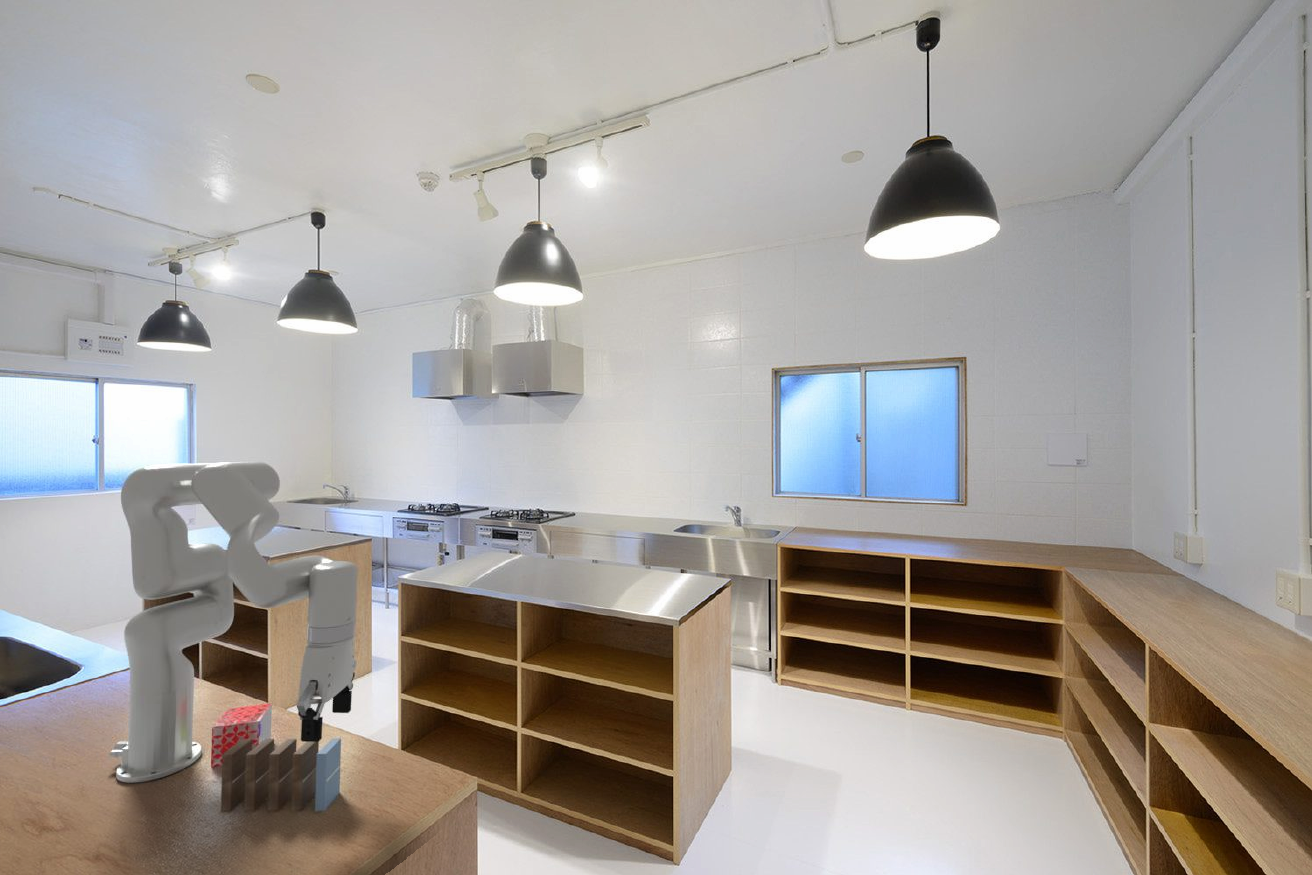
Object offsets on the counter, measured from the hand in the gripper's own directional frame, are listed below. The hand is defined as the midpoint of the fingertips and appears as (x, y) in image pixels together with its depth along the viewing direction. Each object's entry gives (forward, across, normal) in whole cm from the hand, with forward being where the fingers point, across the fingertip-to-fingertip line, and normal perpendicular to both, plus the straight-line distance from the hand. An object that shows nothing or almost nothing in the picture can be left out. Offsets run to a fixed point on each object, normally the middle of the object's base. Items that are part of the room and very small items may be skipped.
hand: (327, 725), depth 98 cm
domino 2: (+14, 0, -11) cm, 18 cm away
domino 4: (+14, 0, -3) cm, 14 cm away
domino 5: (+14, 0, +1) cm, 14 cm away
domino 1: (+14, 0, -15) cm, 21 cm away
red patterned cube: (+15, -16, -25) cm, 33 cm away
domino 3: (+14, 0, -7) cm, 15 cm away
